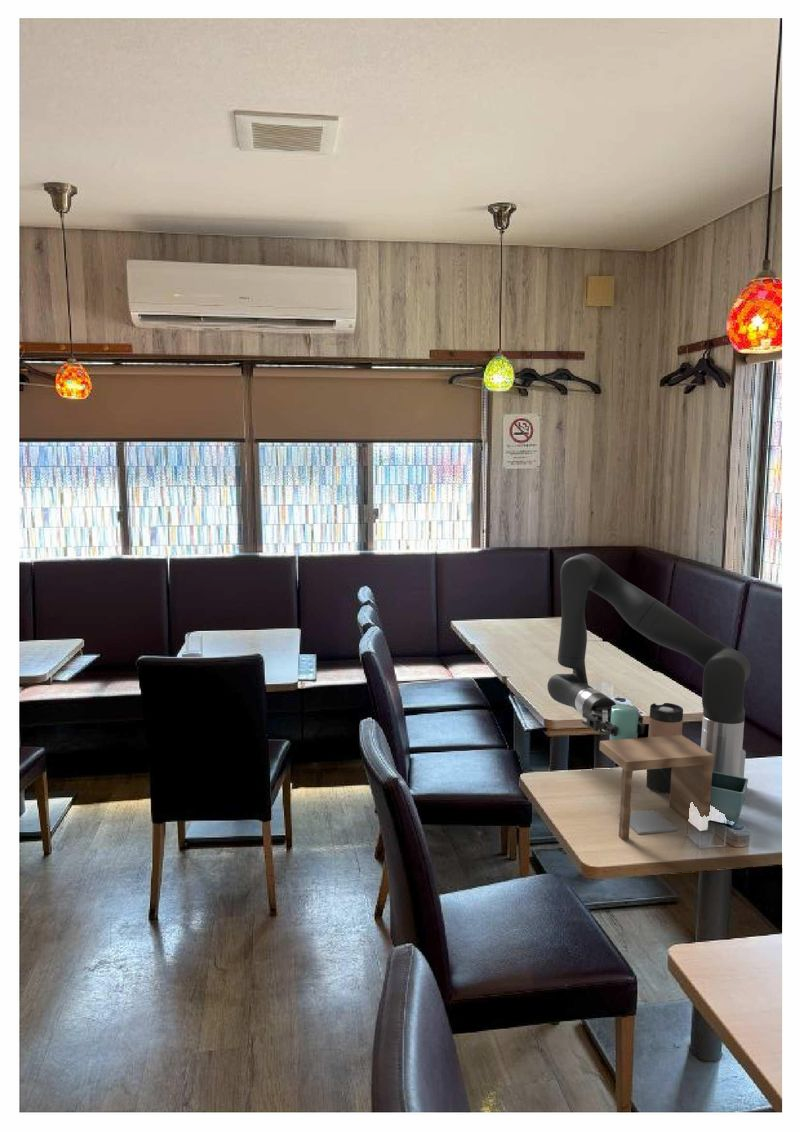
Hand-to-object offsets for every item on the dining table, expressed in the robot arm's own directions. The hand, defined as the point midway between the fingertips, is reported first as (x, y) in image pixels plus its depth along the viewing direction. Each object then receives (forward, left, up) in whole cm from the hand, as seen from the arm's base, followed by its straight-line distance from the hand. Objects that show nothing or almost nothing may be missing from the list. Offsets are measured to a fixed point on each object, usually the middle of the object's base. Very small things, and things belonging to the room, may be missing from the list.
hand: (629, 731), depth 178 cm
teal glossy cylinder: (0, -2, -6) cm, 7 cm away
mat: (0, +10, -17) cm, 20 cm away
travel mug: (-13, -6, -18) cm, 23 cm away
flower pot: (-17, +12, -18) cm, 27 cm away
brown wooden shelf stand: (-1, +10, -17) cm, 20 cm away
